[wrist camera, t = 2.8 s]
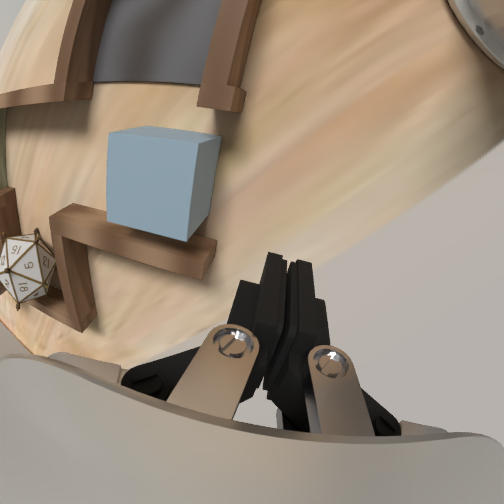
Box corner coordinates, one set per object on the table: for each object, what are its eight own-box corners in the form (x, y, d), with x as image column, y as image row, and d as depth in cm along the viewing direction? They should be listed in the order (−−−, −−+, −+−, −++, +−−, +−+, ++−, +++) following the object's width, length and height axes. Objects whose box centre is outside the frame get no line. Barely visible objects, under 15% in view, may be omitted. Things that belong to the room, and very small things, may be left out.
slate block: (222, 136, 18) (198, 143, 14) (209, 213, 21) (186, 241, 17) (147, 125, 18) (108, 132, 14) (141, 198, 21) (107, 221, 17)
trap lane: (282, -47, 10) (277, -82, 6) (200, 352, 29) (186, 387, 24) (22, 2, 11) (-7, 0, 7) (19, 275, 30) (-2, 294, 25)
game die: (75, 248, 30) (61, 326, 25) (23, 241, 27) (7, 314, 23) (56, 208, 22) (32, 307, 18) (-3, 203, 20) (-30, 291, 15)
